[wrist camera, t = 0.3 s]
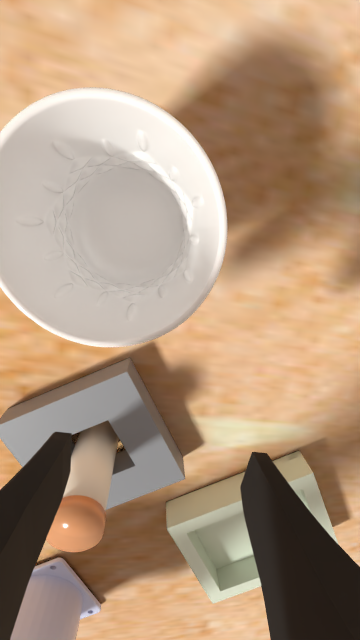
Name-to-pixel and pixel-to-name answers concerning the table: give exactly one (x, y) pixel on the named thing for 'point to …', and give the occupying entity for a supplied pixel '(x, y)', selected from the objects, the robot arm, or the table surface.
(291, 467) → the parts tray
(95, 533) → the cylinder
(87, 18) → the table surface
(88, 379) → the grey square frame
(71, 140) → the white cup
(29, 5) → the table surface
